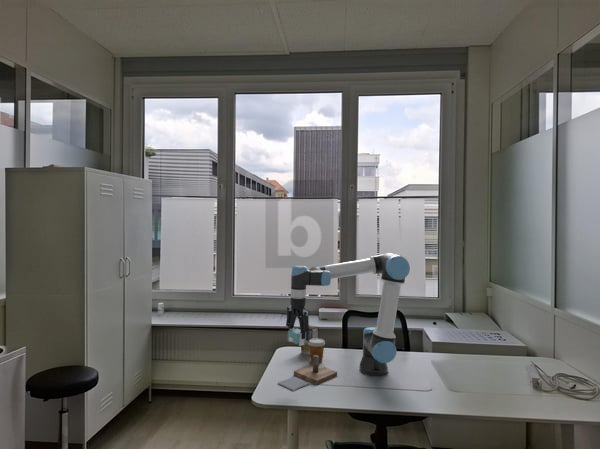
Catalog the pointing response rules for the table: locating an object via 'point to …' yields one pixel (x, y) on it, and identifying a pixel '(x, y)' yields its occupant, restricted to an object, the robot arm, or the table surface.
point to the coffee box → (310, 334)
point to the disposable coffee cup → (316, 348)
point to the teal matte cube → (295, 336)
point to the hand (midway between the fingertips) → (296, 343)
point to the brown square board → (315, 372)
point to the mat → (293, 383)
